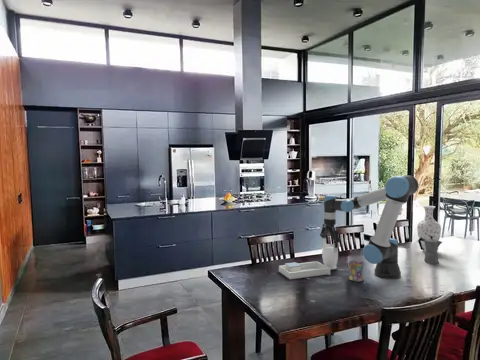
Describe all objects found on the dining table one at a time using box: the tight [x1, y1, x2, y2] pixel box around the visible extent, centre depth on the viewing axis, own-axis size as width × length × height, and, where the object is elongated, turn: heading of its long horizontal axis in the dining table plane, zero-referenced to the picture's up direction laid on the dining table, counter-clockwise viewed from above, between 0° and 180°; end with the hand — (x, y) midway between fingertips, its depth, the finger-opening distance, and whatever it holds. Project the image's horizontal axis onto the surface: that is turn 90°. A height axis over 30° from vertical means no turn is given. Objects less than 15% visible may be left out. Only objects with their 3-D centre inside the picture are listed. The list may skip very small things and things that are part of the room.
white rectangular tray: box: [278, 261, 331, 280], centre depth 220 cm, size 16×28×4 cm, turn 108°
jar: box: [321, 243, 339, 270], centre depth 231 cm, size 11×10×15 cm
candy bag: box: [346, 259, 365, 282], centre depth 207 cm, size 12×9×11 cm
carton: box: [284, 264, 300, 272], centre depth 217 cm, size 7×7×6 cm
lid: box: [284, 261, 301, 268], centre depth 217 cm, size 8×8×1 cm
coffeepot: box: [417, 236, 443, 264], centre depth 241 cm, size 15×9×18 cm, turn 44°
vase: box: [416, 205, 442, 253], centre depth 267 cm, size 16×16×35 cm
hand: (329, 249), depth 231 cm, fingers open, 13 cm apart
